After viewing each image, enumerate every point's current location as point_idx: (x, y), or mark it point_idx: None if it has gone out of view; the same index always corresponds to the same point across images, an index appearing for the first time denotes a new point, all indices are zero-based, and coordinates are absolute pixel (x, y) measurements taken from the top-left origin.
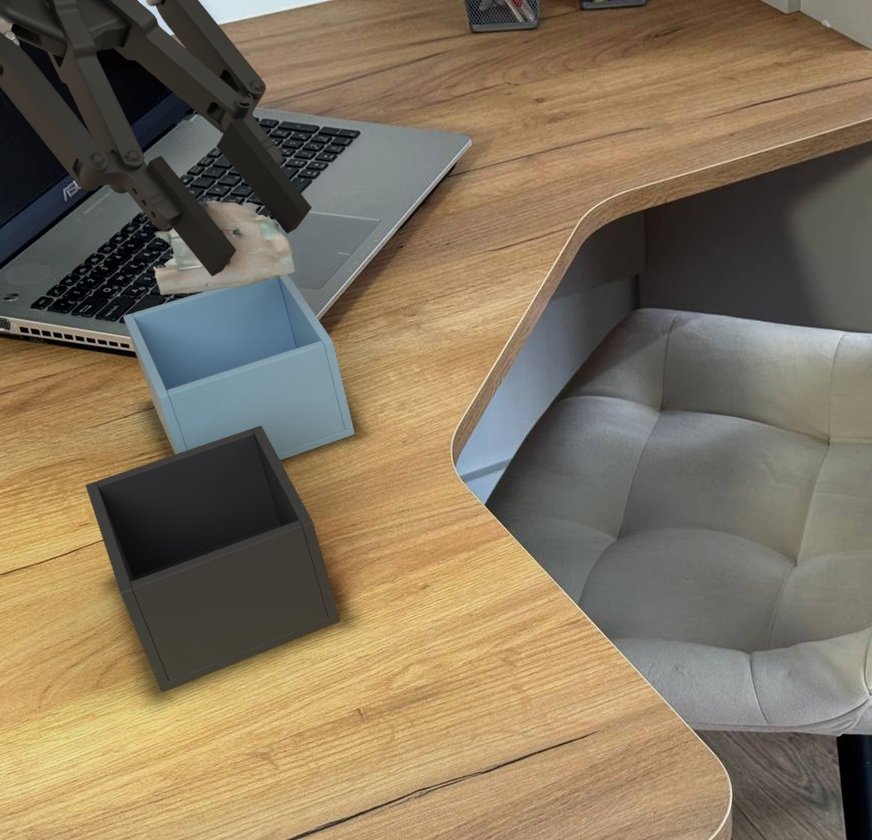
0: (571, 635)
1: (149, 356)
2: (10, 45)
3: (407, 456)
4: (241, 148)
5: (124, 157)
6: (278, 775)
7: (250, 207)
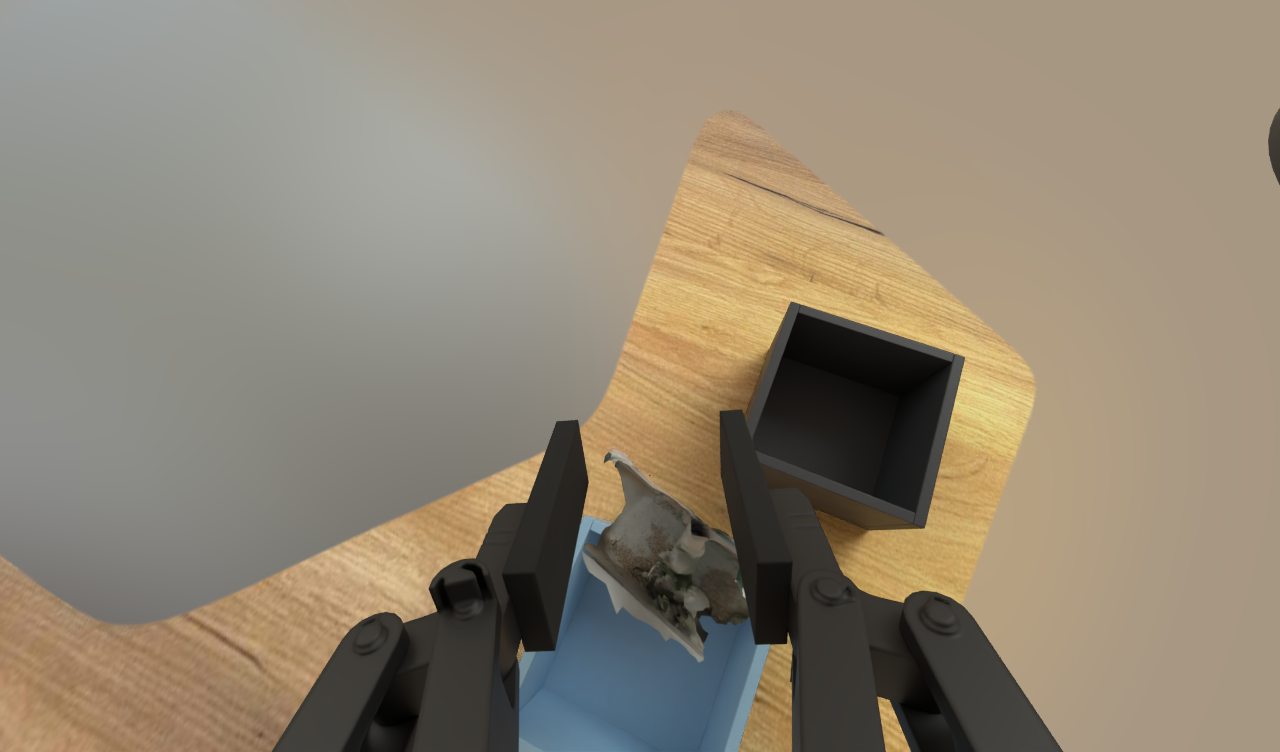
0: (676, 227)
1: (740, 706)
2: None
3: (601, 453)
4: (553, 550)
5: (854, 597)
6: (880, 279)
7: (587, 559)
